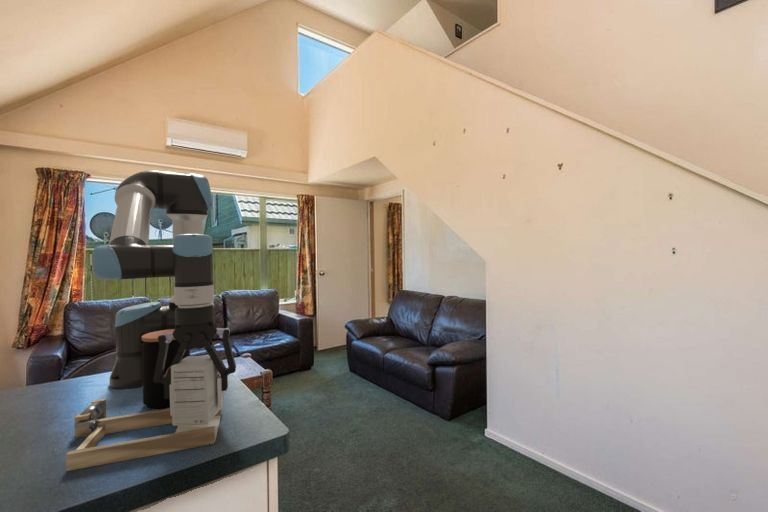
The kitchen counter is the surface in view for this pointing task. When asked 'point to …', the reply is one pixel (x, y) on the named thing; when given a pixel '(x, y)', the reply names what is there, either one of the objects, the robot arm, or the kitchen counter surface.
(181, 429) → the front mat
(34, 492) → the kitchen counter surface
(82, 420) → the winch
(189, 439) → the bay
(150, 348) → the coffee jar
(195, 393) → the supplement box
